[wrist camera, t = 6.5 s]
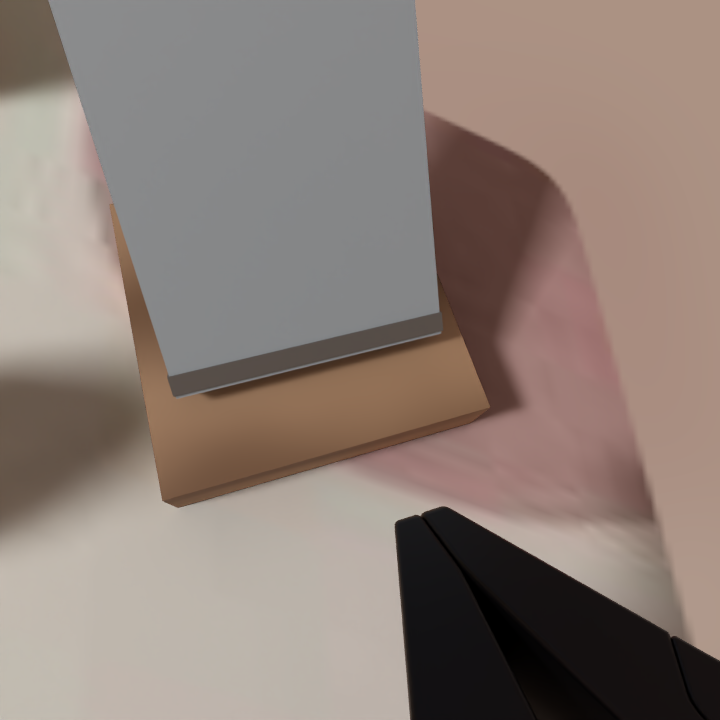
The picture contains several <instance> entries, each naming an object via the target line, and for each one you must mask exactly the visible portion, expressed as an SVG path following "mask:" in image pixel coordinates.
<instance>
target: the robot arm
mask: <svg viewBox="0 0 720 720" xmlns="http://www.w3.org/2000/svg"><path fill="white" fill-rule="evenodd" d="M395 537H396V549H397V562H398V574H399V586H400V599H401V611H402V624H403V636H404V648H405V661H406V673H407V685H408V698H409V710H410V720H720V661H719V660H717V659H715V658H713V657H712V656H710V655H708V654H706V653H704V652H703V651H701V650H699V649H697V648H696V647H694V646H692V645H690V644H689V643H687V642H685V641H683V640H682V639H680V638H678V637H676V636H673V637H670V635H669V633H668V632H667V631H665V630H664V629H662V628H660V627H658V626H656V625H655V624H653V623H651V622H649V621H648V620H646V619H644V618H642V617H641V616H639V615H637V614H635V613H634V612H632V611H630V610H628V609H627V608H625V607H623V606H621V605H619V604H618V603H616V602H614V601H612V600H611V599H609V598H607V597H605V596H604V595H602V594H600V593H598V592H597V591H595V590H593V589H591V588H590V587H588V586H586V585H584V584H582V583H581V582H579V581H577V580H575V579H574V578H572V577H570V576H568V575H567V574H565V573H563V572H561V571H560V570H558V569H556V568H554V567H553V566H551V565H549V564H547V563H545V562H544V561H542V560H540V559H538V558H537V557H535V556H533V555H531V554H530V553H528V552H526V551H524V550H523V549H521V548H519V547H517V546H516V545H514V544H512V543H510V542H508V541H507V540H505V539H503V538H501V537H500V536H498V535H496V534H494V533H493V532H491V531H489V530H487V529H486V528H484V527H482V526H480V525H479V524H477V523H475V522H473V521H471V520H470V519H468V518H466V517H464V516H463V515H461V514H459V513H457V512H456V511H454V510H452V509H450V508H448V507H445V506H442V507H439V508H435V509H432V510H429V511H426V512H424V513H422V515H421V516H419V515H414V516H411V517H408V518H404V519H401V520H398V521H397V522H396V523H395Z"/></svg>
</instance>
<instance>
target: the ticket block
mask: <svg viewBox="0 0 720 720" xmlns="http://www.w3.org/2000/svg"><path fill="white" fill-rule="evenodd" d="M109 205H110V210H111V216H112V221H113V227H114V233H115V238H116V244H117V249H118V255H119V261H120V266H121V272H122V277H123V283H124V289H125V294H126V300H127V305H128V311H129V317H130V322H131V328H132V333H133V339H134V345H135V350H136V356H137V361H138V367H139V372H140V378H141V384H142V389H143V395H144V400H145V406H146V412H147V417H148V423H149V428H150V434H151V440H152V445H153V451H154V456H155V462H156V468H157V473H158V479H159V484H160V490H161V496H162V501H164V502H166V503H168V504H171V505H173V506H175V507H177V508H179V507H182V506H186V505H189V504H192V503H196V502H199V501H203V500H206V499H210V498H213V497H217V496H220V495H223V494H227V493H230V492H234V491H237V490H241V489H244V488H248V487H251V486H255V485H258V484H261V483H265V482H268V481H272V480H275V479H279V478H282V477H286V476H289V475H292V474H296V473H299V472H303V471H306V470H310V469H313V468H317V467H320V466H324V465H327V464H330V463H334V462H337V461H341V460H344V459H348V458H351V457H355V456H358V455H361V454H365V453H368V452H372V451H375V450H379V449H382V448H386V447H389V446H392V445H396V444H399V443H403V442H406V441H410V440H413V439H417V438H420V437H424V436H427V435H430V434H434V433H437V432H441V431H444V430H448V429H451V428H455V427H458V426H461V425H465V424H468V423H471V422H472V421H474V420H475V419H476V418H477V417H479V416H480V415H481V414H482V413H484V412H485V411H486V410H488V409H489V408H490V405H489V402H488V400H487V397H486V395H485V392H484V390H483V387H482V385H481V382H480V380H479V377H478V375H477V372H476V370H475V367H474V365H473V362H472V360H471V357H470V355H469V352H468V350H467V347H466V345H465V342H464V340H463V337H462V335H461V332H460V330H459V327H458V325H457V322H456V320H455V317H454V315H453V312H452V310H451V307H450V305H449V302H448V300H447V297H446V295H445V292H444V290H443V287H442V285H441V282H440V280H439V277H438V275H437V286H438V299H439V311H441V312H442V322H443V331H441V334H437V335H433V336H429V337H425V338H421V339H417V340H413V341H409V342H405V343H401V344H397V345H393V346H389V347H385V348H381V349H377V350H373V351H369V352H364V353H360V354H356V355H352V356H348V357H344V358H340V359H336V360H332V361H328V362H324V363H320V364H316V365H312V366H308V367H304V368H300V369H296V370H292V371H288V372H284V373H280V374H276V375H272V376H268V377H263V378H259V379H255V380H251V381H247V382H243V383H239V384H235V385H231V386H227V387H223V388H219V389H215V390H211V391H207V392H203V393H199V394H195V395H191V396H187V397H183V398H179V399H176V397H173V394H172V391H171V388H170V385H169V382H168V379H167V375H168V372H167V368H166V365H165V362H164V359H163V356H162V353H161V350H160V347H159V344H158V340H157V337H156V334H155V331H154V328H153V325H152V322H151V319H150V316H149V312H148V309H147V306H146V303H145V300H144V297H143V294H142V291H141V288H140V284H139V281H138V278H137V275H136V272H135V269H134V266H133V263H132V259H131V256H130V253H129V250H128V247H127V244H126V241H125V238H124V235H123V231H122V228H121V225H120V222H119V219H118V216H117V213H116V210H115V207H114V204H109ZM436 274H437V272H436Z"/></svg>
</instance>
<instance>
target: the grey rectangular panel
mask: <svg viewBox="0 0 720 720" xmlns="http://www.w3.org/2000/svg"><path fill="white" fill-rule="evenodd" d="M48 1H49V4H50V7H51V10H52V14H53V17H54V20H55V23H56V26H57V29H58V32H59V35H60V38H61V42H62V45H63V48H64V51H65V54H66V57H67V60H68V63H69V66H70V70H71V73H72V76H73V79H74V82H75V85H76V88H77V91H78V94H79V98H80V101H81V104H82V107H83V110H84V113H85V116H86V119H87V123H88V126H89V129H90V132H91V135H92V138H93V141H94V144H95V147H96V151H97V154H98V157H99V160H100V163H101V166H102V169H103V172H104V175H105V179H106V182H107V185H108V188H109V191H110V194H111V197H112V200H113V203H114V207H115V210H116V213H117V216H118V219H119V222H120V225H121V228H122V231H123V235H124V238H125V241H126V244H127V247H128V250H129V253H130V256H131V259H132V263H133V266H134V269H135V272H136V275H137V278H138V281H139V284H140V288H141V291H142V294H143V297H144V300H145V303H146V306H147V309H148V312H149V316H150V319H151V322H152V325H153V328H154V331H155V334H156V337H157V340H158V344H159V347H160V350H161V353H162V356H163V359H164V362H165V365H166V368H167V372H168V375H167V379H168V382H169V385H170V388H171V391H172V394H173V397H176V399H179V398H183V397H187V396H191V395H195V394H199V393H203V392H207V391H211V390H215V389H219V388H223V387H227V386H231V385H235V384H239V383H243V382H247V381H251V380H255V379H259V378H263V377H268V376H272V375H276V374H280V373H284V372H288V371H292V370H296V369H300V368H304V367H308V366H312V365H316V364H320V363H324V362H328V361H332V360H336V359H340V358H344V357H348V356H352V355H356V354H360V353H364V352H369V351H373V350H377V349H381V348H385V347H389V346H393V345H397V344H401V343H405V342H409V341H413V340H417V339H421V338H425V337H429V336H433V335H437V334H441V331H443V322H442V312H441V311H439V299H438V286H437V274H436V261H435V248H434V236H433V223H432V211H431V198H430V185H429V173H428V160H427V148H426V135H425V123H424V110H423V97H422V85H421V72H420V60H419V47H418V34H417V22H416V10H415V0H48Z"/></svg>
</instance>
